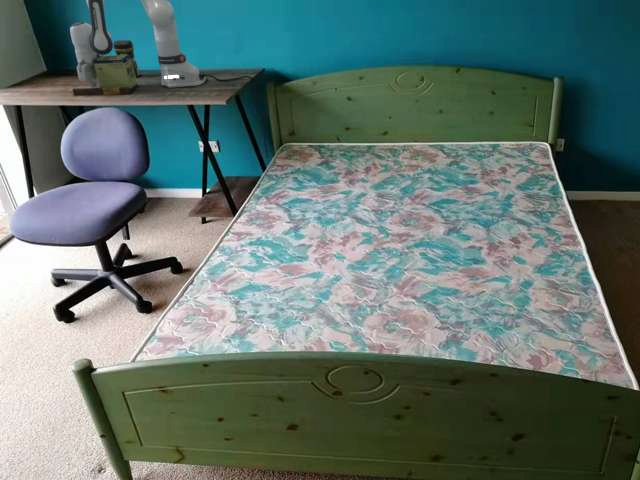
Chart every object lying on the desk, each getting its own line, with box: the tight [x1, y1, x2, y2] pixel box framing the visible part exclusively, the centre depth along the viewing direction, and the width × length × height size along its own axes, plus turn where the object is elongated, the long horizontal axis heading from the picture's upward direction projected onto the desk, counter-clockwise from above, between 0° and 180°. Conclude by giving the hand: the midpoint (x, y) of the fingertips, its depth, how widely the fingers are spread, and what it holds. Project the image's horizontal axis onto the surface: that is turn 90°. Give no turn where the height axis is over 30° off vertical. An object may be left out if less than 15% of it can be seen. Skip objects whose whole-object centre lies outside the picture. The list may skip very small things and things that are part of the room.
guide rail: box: [72, 87, 132, 96], centre depth 295 cm, size 28×2×3 cm, turn 89°
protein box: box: [93, 54, 138, 92], centre depth 299 cm, size 10×16×16 cm
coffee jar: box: [112, 39, 141, 78], centre depth 318 cm, size 10×8×19 cm
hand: (94, 86), depth 301 cm, fingers closed
